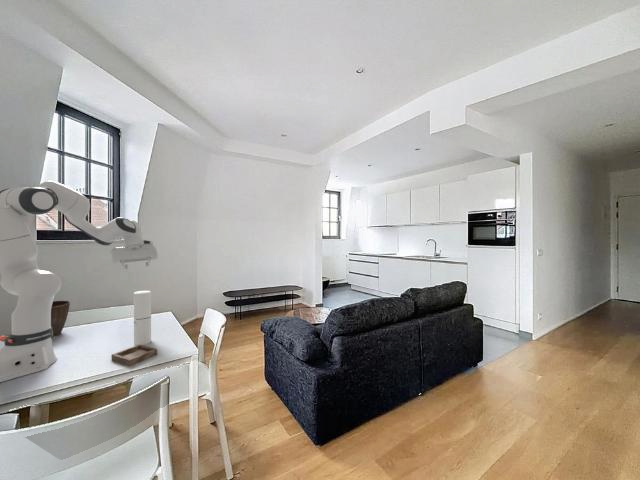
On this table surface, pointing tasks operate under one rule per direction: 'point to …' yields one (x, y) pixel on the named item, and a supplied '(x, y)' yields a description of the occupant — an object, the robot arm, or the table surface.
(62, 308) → the plant pot
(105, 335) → the table surface
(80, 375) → the table surface
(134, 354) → the wooden serving tray
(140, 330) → the cylindrical container
